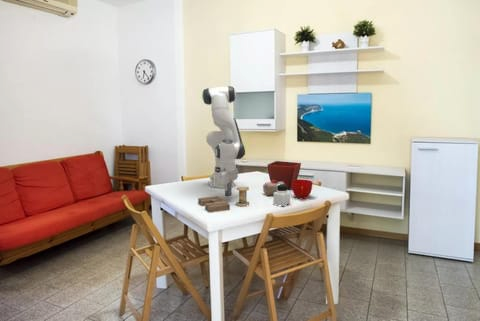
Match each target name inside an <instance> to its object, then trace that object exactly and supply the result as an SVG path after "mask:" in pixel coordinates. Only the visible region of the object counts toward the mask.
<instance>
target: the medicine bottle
mask: <svg viewBox="0 0 480 321" xmlns="http://www.w3.org/2000/svg"><path fill="white" fill-rule="evenodd" d="M272 203H273V204H272V205H274V204H276V205H275V206H278V205H281V206H280V207H282V206H284V207H286V206H288V205H287V204H289V205H290V204H291V192H288V189H287V185H286V184H278V185H277V192H275V193H274V196H273V202H272ZM285 205H286V206H285Z"/></svg>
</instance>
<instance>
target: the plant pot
mask: <svg viewBox="0 0 480 321" xmlns="http://www.w3.org/2000/svg"><path fill="white" fill-rule="evenodd" d="M301 166H302V162H295V161H294V162H293V161H282V160H274V161H272V162H270V163H268V164H267V171H268V176H269V177H268V178H269V182H271V181H272V180H273V179H274V180H276V181H278V182H284V183H285V184H286V185H287V191H288V190H289V191H290V190H292V181H293V180H298V178H299V175H300V170H301Z"/></svg>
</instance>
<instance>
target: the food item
mask: <svg viewBox="0 0 480 321" xmlns="http://www.w3.org/2000/svg"><path fill="white" fill-rule="evenodd" d="M278 184H285V183H284V182H278V181H276V180H274V179H273V180H272V181H269V182H265V183H263V185H262V190H263V193H264V194H265V195H266V197H274V193H275V192H277V185H278Z"/></svg>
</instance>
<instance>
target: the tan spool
mask: <svg viewBox="0 0 480 321" xmlns="http://www.w3.org/2000/svg"><path fill="white" fill-rule="evenodd" d="M236 190H237V191H238V201H236V202H235V206H237V205H238V206H237V207H248V206H250V205H249V204H250V202H249V201H247V196H248V195H247V191H249V190H250V187H249V186H243V185H242V186H237V187H236ZM247 205H248V206H247Z"/></svg>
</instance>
